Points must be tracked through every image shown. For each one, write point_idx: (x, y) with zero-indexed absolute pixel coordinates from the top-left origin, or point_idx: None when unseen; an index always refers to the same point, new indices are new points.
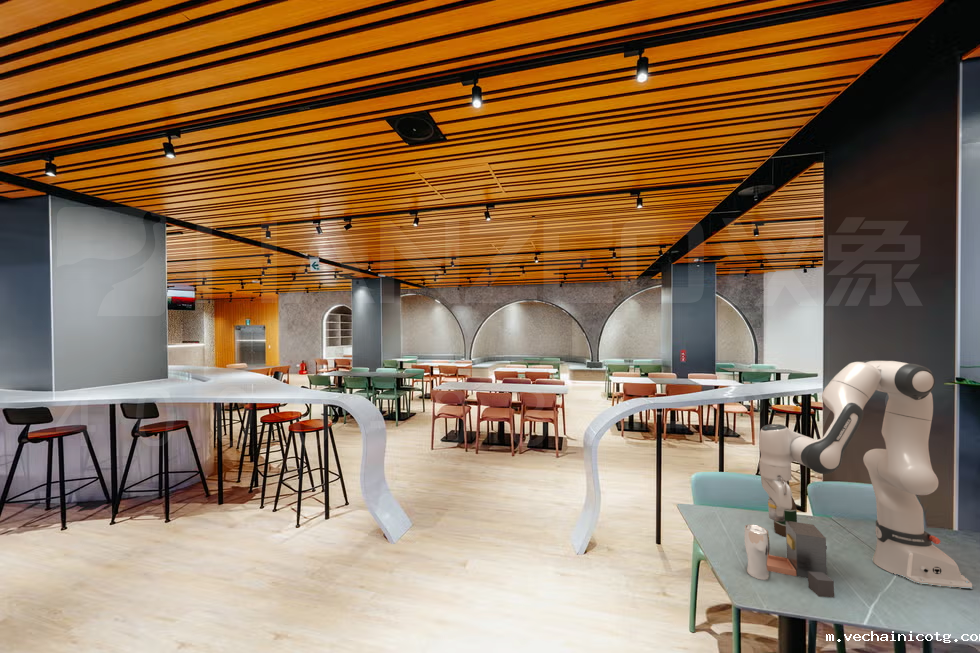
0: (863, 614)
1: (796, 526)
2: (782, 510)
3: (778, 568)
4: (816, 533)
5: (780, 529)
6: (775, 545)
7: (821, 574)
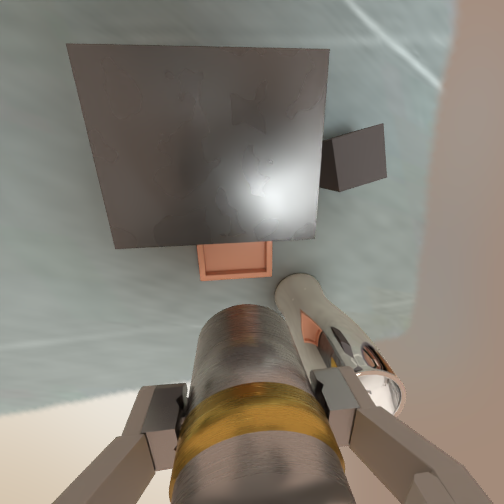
0: (417, 80)
1: (192, 205)
2: (392, 424)
3: (271, 249)
4: (263, 94)
5: None
6: (69, 214)
7: (348, 151)
